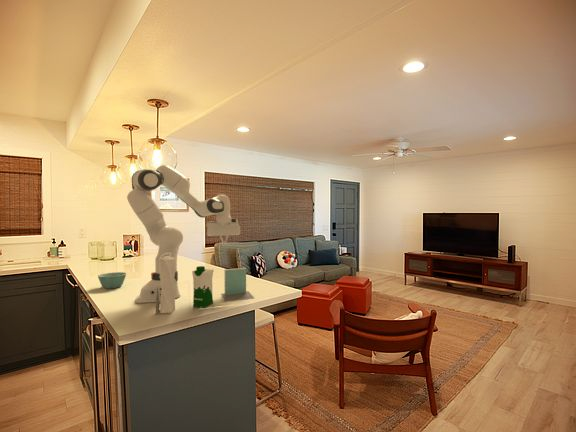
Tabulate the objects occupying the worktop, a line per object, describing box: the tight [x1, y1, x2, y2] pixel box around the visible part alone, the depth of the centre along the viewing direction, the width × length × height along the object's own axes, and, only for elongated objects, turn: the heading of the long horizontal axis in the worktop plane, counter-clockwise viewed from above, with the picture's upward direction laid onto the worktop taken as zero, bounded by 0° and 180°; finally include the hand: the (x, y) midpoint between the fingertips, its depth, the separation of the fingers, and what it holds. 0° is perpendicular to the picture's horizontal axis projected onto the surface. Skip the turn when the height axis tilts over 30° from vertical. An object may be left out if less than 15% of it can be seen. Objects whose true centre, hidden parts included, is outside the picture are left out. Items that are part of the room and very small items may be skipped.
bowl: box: [97, 271, 127, 290], centre depth 190 cm, size 16×16×8 cm
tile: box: [223, 267, 247, 295], centre depth 172 cm, size 12×2×14 cm, turn 110°
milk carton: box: [191, 265, 214, 309], centre depth 151 cm, size 9×9×20 cm
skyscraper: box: [154, 253, 176, 316], centre depth 143 cm, size 8×8×28 cm
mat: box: [220, 290, 256, 302], centre depth 167 cm, size 16×16×1 cm
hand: (224, 242), depth 185 cm, fingers closed
